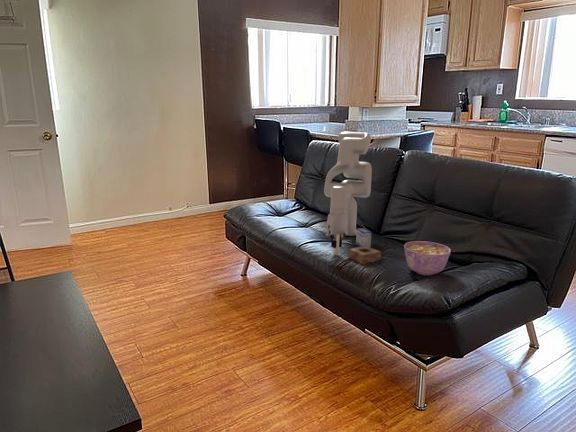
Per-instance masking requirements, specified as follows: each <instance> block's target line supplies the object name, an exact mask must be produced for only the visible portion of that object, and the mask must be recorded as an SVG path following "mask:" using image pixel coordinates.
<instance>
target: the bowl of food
mask: <svg viewBox="0 0 576 432" xmlns="http://www.w3.org/2000/svg"><path fill="white" fill-rule="evenodd" d="M403 247H404V253H405V254H404V255H405V259H406V264H407V266H408V268H410V269H411V270H412V271H413V272H415V273H416V274H419V275H422V276H433V275H436V274H439V273H441V272H442V271H443V270H444V269H445V267H446V265H447V262H448V261H449V257H450V255H451V252H452V251H451V248H450V247H449V246H447V245H444V244H443V243H437V242H432V241H425V240H424V241H422V240H415V241H414V240H413V241H407V242H406V243H405V244H404V245H403Z"/></svg>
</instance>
